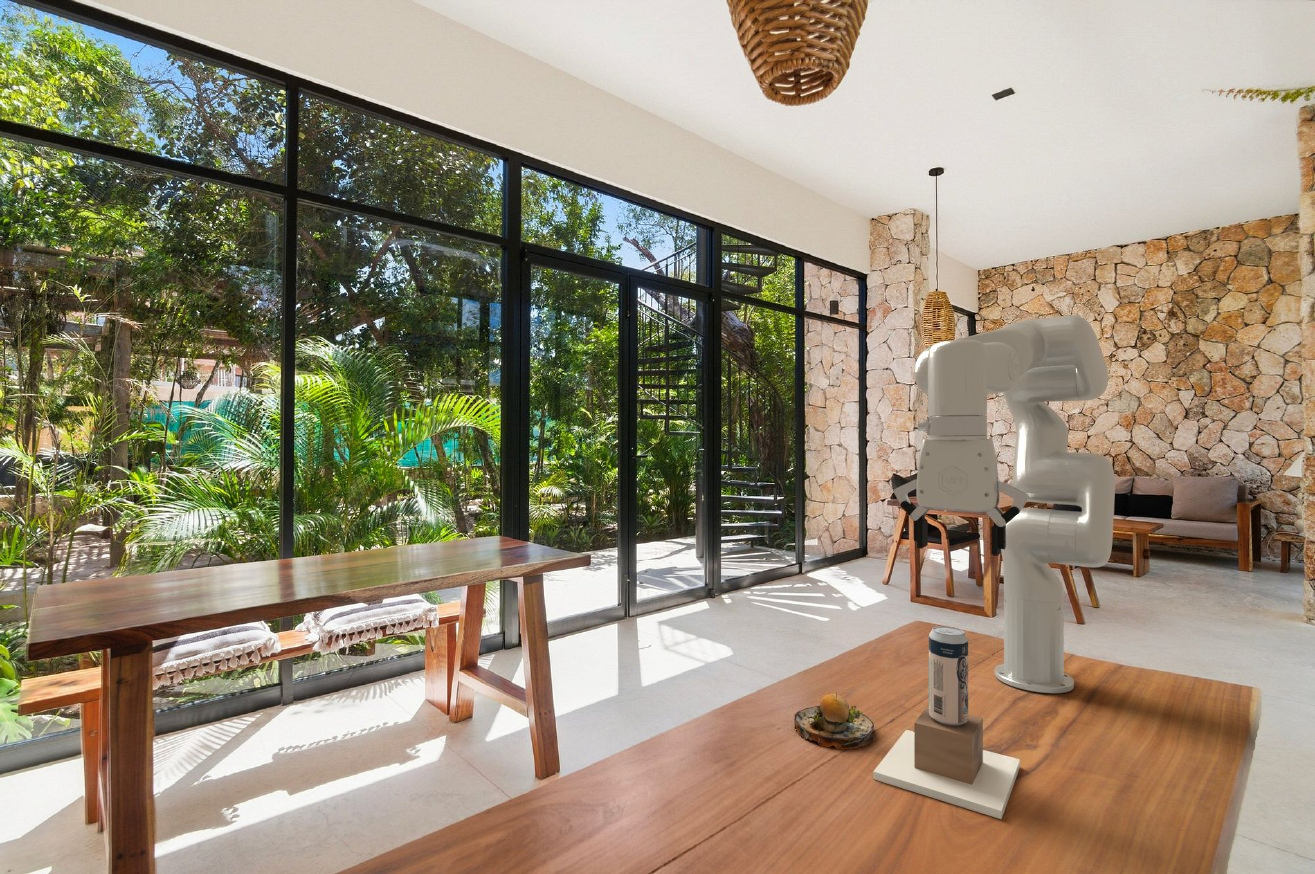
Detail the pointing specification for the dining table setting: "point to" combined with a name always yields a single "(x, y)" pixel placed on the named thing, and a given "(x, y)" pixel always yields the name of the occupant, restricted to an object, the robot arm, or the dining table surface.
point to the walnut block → (949, 747)
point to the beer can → (948, 675)
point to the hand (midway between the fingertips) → (958, 550)
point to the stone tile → (980, 796)
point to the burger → (834, 724)
